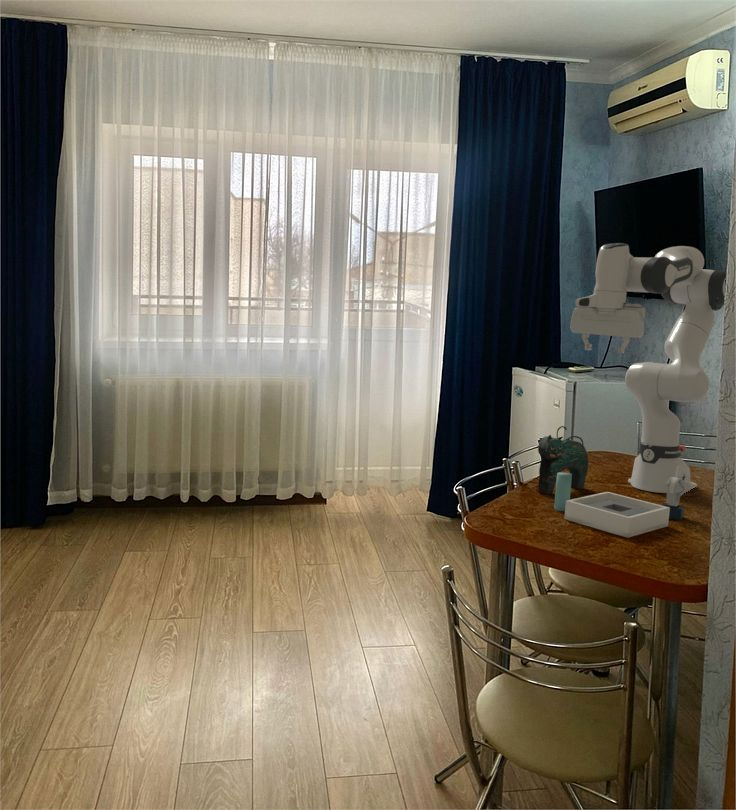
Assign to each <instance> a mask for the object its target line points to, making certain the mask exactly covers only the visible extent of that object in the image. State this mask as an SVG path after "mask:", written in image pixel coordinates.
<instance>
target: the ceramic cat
mask: <svg viewBox="0 0 736 810" xmlns="http://www.w3.org/2000/svg"><path fill="white" fill-rule="evenodd" d="M562 428H563V429H564V430H565V431H567V427H566V426H564V425H561V426H559V427H558V428H557V430H556V437H553V436H552V434H549V435H547V436H543V437H542V438H541V439H540V441H539V443H538V448H537V452H538V454H539V456H540V464H539V469H538V475H539V476H538V483H537V485H538V487H537V488H538V491H540V492H542V493H545V494H544V495H546V494H548V495H552V493H554V490H555V489H554V488H555V487H556V480H557V473H559V472H562V471H565V470H568V473H570V474H572V480H571V487H572V488H573V489H575V490H577V489H578V490H582V489H584V488H585V482H586V479H587V476H588V475H587V474H588V472H589V471H588V470H589V469H588V468H589V458H588V457H589V456H588V453H587V450H586V447H585V445H584V440H583V438H582V437H580V436H577V435H572V436H571V435H570V437H567V438H564V436H559V434H558V433H559V431H560V429H562ZM558 436H559V437H558ZM563 438H564V439H563ZM571 438H575V439H579V440H580V441H577V440H572V439H571ZM572 488H571V489H572ZM538 491H537V492H538ZM542 493H541V494H542Z"/></svg>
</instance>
